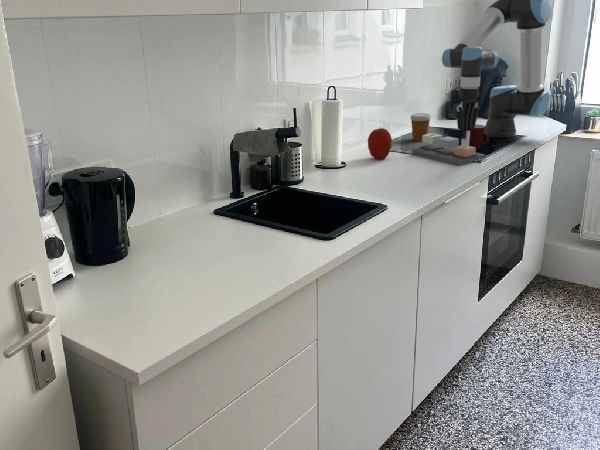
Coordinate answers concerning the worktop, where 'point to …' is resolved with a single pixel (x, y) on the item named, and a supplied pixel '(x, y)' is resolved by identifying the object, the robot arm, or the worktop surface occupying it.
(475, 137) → the mug
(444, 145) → the key slate
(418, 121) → the disposable coffee cup
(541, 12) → the robot arm
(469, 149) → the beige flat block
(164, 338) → the worktop surface
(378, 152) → the apple
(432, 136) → the key cream
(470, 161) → the keypad base
